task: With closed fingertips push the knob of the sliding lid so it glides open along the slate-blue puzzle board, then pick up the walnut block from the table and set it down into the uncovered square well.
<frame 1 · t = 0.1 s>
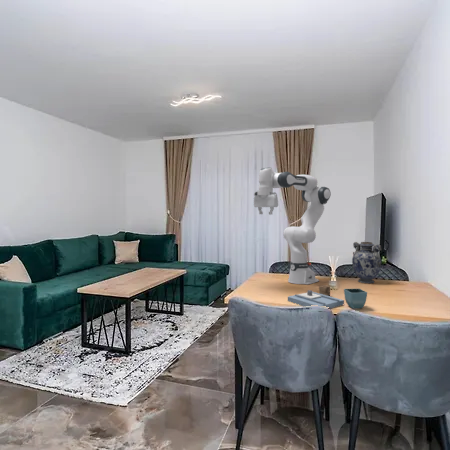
hand: (265, 214, 210), 48 cm above the table, fingers open, 8 cm apart
walnut block: (324, 296, 192), on the table
decorative vase: (365, 282, 230), on the table
puzzle board: (315, 302, 179), on the table
lid: (309, 293, 182), point 4 cm above the table, slide at 0.0 cm
flower pot: (354, 307, 171), on the table
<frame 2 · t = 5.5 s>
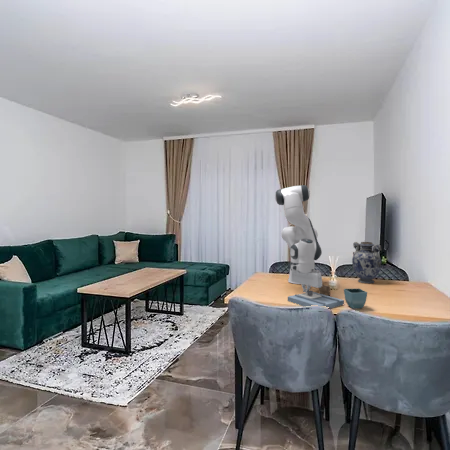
hand: (306, 292, 184), 4 cm above the table, fingers closed
lid: (310, 293, 182), point 4 cm above the table, slide at 0.3 cm, touching gripper
everything else where it was.
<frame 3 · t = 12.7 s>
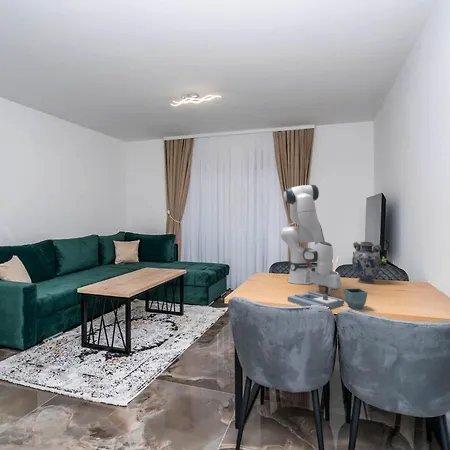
hand: (324, 293, 192), 2 cm above the table, fingers closed on walnut block, 4 cm apart
walnut block: (324, 296, 192), on the table, touching gripper
lid: (325, 297, 173), point 4 cm above the table, slide at 10.7 cm
everything else where it was.
when the fingers open (4 cm above the table, at t = 16.5 s): walnut block drops 2 cm, resting on puzzle board.
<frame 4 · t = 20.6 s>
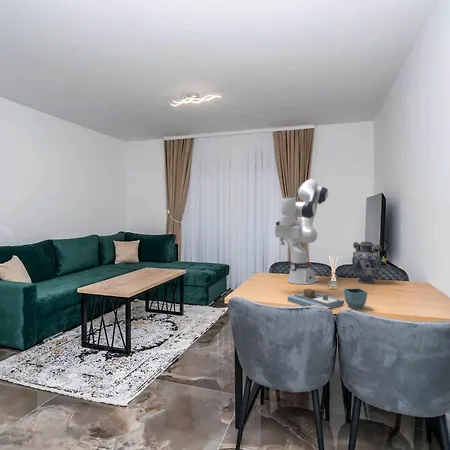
hand: (288, 245, 198), 29 cm above the table, fingers open, 8 cm apart
walnut block: (309, 300, 182), resting on puzzle board
everything else where it was.
at the end: lid slide at 10.7 cm; walnut block 0.0 cm from the target spot on the puzzle board, point 0.3 cm above the puzzle board's base; the gripper is holding nothing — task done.
